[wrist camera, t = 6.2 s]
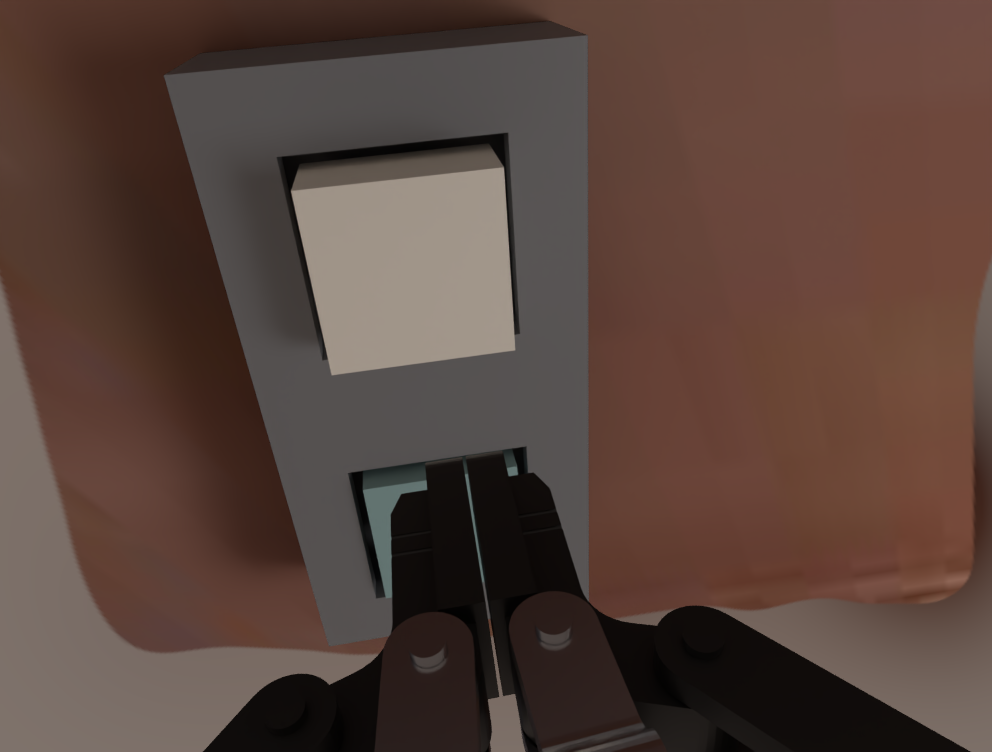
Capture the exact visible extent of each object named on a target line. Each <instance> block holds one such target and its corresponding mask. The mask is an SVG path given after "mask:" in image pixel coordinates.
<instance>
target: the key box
mask: <svg viewBox="0 0 992 752" xmlns="http://www.w3.org/2000/svg"><path fill="white" fill-rule="evenodd" d="M164 78H165V81H166V85H167V88H168V92H169V95H170V99H171V102H172V106H173V109H174V113H175V116H176V119H177V123H178V126H179V130H180V133H181V137H182V140H183V144H184V147H185V151H186V154H187V157H188V161H189V164H190V168H191V171H192V175H193V178H194V182H195V185H196V189H197V192H198V195H199V199H200V202H201V206H202V209H203V213H204V216H205V220H206V223H207V227H208V230H209V233H210V237H211V240H212V244H213V247H214V251H215V254H216V258H217V261H218V265H219V268H220V271H221V275H222V278H223V282H224V285H225V289H226V292H227V296H228V299H229V303H230V306H231V309H232V313H233V316H234V320H235V323H236V327H237V330H238V334H239V337H240V341H241V344H242V347H243V351H244V354H245V358H246V361H247V365H248V368H249V372H250V375H251V379H252V382H253V385H254V389H255V392H256V396H257V399H258V403H259V406H260V410H261V413H262V417H263V420H264V423H265V427H266V430H267V434H268V437H269V441H270V444H271V448H272V451H273V455H274V458H275V461H276V465H277V468H278V472H279V475H280V479H281V482H282V486H283V489H284V493H285V496H286V499H287V503H288V506H289V510H290V513H291V517H292V520H293V524H294V527H295V531H296V534H297V537H298V541H299V544H300V548H301V551H302V555H303V558H304V562H305V565H306V568H307V572H308V575H309V579H310V582H311V586H312V589H313V593H314V596H315V600H316V603H317V606H318V610H319V613H320V617H321V620H322V624H323V627H324V631H325V634H326V638H327V641H328V644H329V646H334V645H340V644H346V643H352V642H357V641H363V640H369V639H375V638H381V637H386V636H390V634H391V630H392V597H391V598H386V596H385V591H384V586H383V582H382V577H381V572H380V568H379V563H378V558H377V554H376V549H375V544H374V540H373V535H372V530H371V526H370V521H369V516H368V512H367V507H366V502H365V498H364V493H363V471H364V470H371V469H377V468H384V467H391V466H398V465H404V464H411V463H418V462H424V461H431V460H438V459H444V458H451V457H458V456H465V455H471V454H478V453H485V452H491V451H498V450H505V449H511V448H512V450H513V454H514V457H515V461H516V464H517V472H518V475H520V474H526V473H532V472H534V473H535V474H536V475H537V476H538V477H539V478H540V479H541V480H542V481H543V482H544V483H545V484H546V485H547V486H548V487H549V488H550V490H551V493H552V496H553V500H554V503H555V506H556V510H557V512H558V516H559V519H560V522H561V526H562V529H563V532H564V535H565V538H566V541H567V544H568V547H569V551H570V554H571V557H572V560H573V563H574V567H575V570H576V573H577V576H578V579H579V583H580V586H581V589H582V591H583V594H584V596H585V597H586V599H587V600H588V601H589V499H588V35H586V34H583V33H580V32H578V31H575V30H572V29H570V28H567V27H565V26H562V25H559V24H557V23H554V22H551V21H547V22H536V23H525V24H514V25H503V26H492V27H481V28H470V29H460V30H449V31H438V32H427V33H416V34H405V35H394V36H383V37H372V38H362V39H351V40H340V41H329V42H318V43H307V44H296V45H285V46H275V47H264V48H253V49H242V50H231V51H220V52H209V53H200V54H198V55H196V56H195V57H193V58H191V59H190V60H188V61H186V62H185V63H183V64H181V65H180V66H178V67H177V68H175V69H173V70H172V71H170V72H168V73H167V74H165V75H164ZM488 143H489V145H490V146H491V148H492V149H493V151H494V152H495V154H496V156H497V157H498V159H499V160H500V162H501V164H502V165H503V167H504V177H505V193H506V209H507V225H508V241H509V257H510V273H511V289H512V305H513V321H514V337H515V350H514V351H507V352H499V353H492V354H485V355H477V356H470V357H463V358H455V359H448V360H441V361H433V362H426V363H419V364H411V365H404V366H397V367H389V368H382V369H374V370H367V371H360V372H352V373H345V374H338V375H331V370H330V366H329V361H328V357H327V352H326V347H325V343H324V338H323V334H322V329H321V325H320V320H319V316H318V311H317V307H316V302H315V298H314V293H313V288H312V284H311V279H310V275H309V270H308V266H307V261H306V257H305V252H304V248H303V243H302V239H301V234H300V230H299V225H298V220H297V216H296V211H295V207H294V202H293V198H292V193H291V189H292V186H293V183H294V180H295V177H296V174H297V171H298V168H299V165H300V164H302V163H312V162H321V161H330V160H339V159H349V158H358V157H367V156H377V155H386V154H395V153H404V152H414V151H423V150H432V149H442V148H451V147H460V146H470V145H479V144H488ZM482 583H483V590H484V596H485V602H486V609H487V616H488V619H490V613H489V607H488V601H487V595H486V589H485V583H484V582H482Z"/></svg>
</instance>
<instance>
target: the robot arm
mask: <svg viewBox="0 0 992 752" xmlns="http://www.w3.org/2000/svg"><path fill="white" fill-rule="evenodd" d="M465 457H466V465H467V472H468V478H469V485H470V492H471V499H472V506H473V513H474V520H475V527H476V533H477V540H478V546H479V552H480V558H481V564H482V570H483V576H484V583H485V589H486V595H487V601H488V607H489V613H490V619H491V625H492V631H493V637H494V643H495V649H496V656H497V662H498V668H499V674H500V680H501V686H502V692H503V696H505V695H511V694H515V695H516V700H517V706H518V711H519V717H520V724H521V733H522V739H523V744H524V748H525V752H970V751H968V750H967V749H965V748H963V747H961V746H959V745H957V744H956V743H954V742H952V741H951V740H949V739H947V738H945V737H944V736H941V735H940V734H938V733H936V732H935V731H933V730H931V729H929V728H927V727H926V726H924V725H922V724H921V723H919V722H917V721H915V720H913V719H912V718H910V717H908V716H906V715H904V714H903V713H901V712H899V711H897V710H896V709H894V708H892V707H890V706H888V705H887V704H885V703H883V702H881V701H880V700H878V699H876V698H874V697H873V696H871V695H869V694H867V693H866V692H864V691H862V690H860V689H859V688H856V687H855V686H853V685H851V684H850V683H848V682H846V681H844V680H843V679H841V678H839V677H837V676H836V675H834V674H832V673H830V672H828V671H827V670H825V669H823V668H821V667H819V666H818V665H816V664H814V663H812V662H811V661H809V660H807V659H805V658H804V657H802V656H800V655H798V654H797V653H795V652H793V651H791V650H789V649H788V648H786V647H784V646H782V645H781V644H779V643H777V642H775V641H774V640H772V639H770V638H768V637H766V636H765V635H763V634H761V633H759V632H757V631H756V630H754V629H752V628H750V627H749V626H747V625H745V624H743V623H742V622H740V621H738V620H736V619H735V618H733V617H731V616H729V615H727V614H726V613H723V612H721V611H719V610H716V609H714V608H710V607H705V606H685V607H681V608H678V609H675V610H673V611H671V612H670V613H668V614H667V615H666V616H664V617H663V618H662V619H661V621H660V622H659V624H658V626H653V625H644V624H635V623H628V622H622V621H619V620H615V619H613V618H610V617H608V616H606V615H604V614H603V613H601V612H599V611H598V610H597V609H596V608H594V607H593V606H592V605H591V604H590V603H589V601H588V600H587V599H586V597H585V596H584V594H583V591H582V589H581V586H580V583H579V579H578V576H577V573H576V570H575V567H574V563H573V560H572V557H571V554H570V551H569V547H568V544H567V541H566V538H565V535H564V532H563V529H562V526H561V522H560V519H559V516H558V512H557V510H556V506H555V503H554V500H553V496H552V493H551V490H550V488H549V487H548V486H547V485H546V484H545V483H544V482H543V481H542V480H541V479H540V478H539V477H538V476H537V475H536V474H535V473H534V472H532V473H526V474H520V475H514V476H509V475H508V471H507V467H506V463H505V459H504V454H503V451H495V452H489V453H483V454H476V455H470V456H465ZM425 470H426V481H427V490H422V491H416V492H410V493H404V494H401V495H400V497H399V499H398V501H397V503H396V505H395V507H394V509H393V511H392V513H391V555H392V558H391V568H392V630H391V634H390V636H389V637H388V639H387V641H386V643H385V646H384V648H383V650H382V651H381V652H380V654H379V655H378V656H377V657H376V658H375V659H374V660H373V661H372V662H371V663H369V664H368V665H366V666H365V667H364V668H362V669H360V670H359V671H357V672H355V673H353V674H351V675H349V676H347V677H345V678H343V679H341V680H339V681H337V682H335V683H333V684H330V685H329V684H328V683H327V682H325V681H324V680H322V679H321V678H319V677H317V676H314V675H309V674H294V675H289V676H285V677H282V678H280V679H277V680H275V681H273V682H271V683H270V684H268V685H266V686H265V687H264V688H262V689H261V690H260V691H259V692H258V693H257V694H256V695H255V696H253V698H252V699H251V700H250V701H249V702H248V703H247V704H246V705H245V706H244V707H243V708H242V710H241V711H240V712H239V713H238V714H237V715H236V716H235V717H234V718H233V719H232V721H231V722H230V723H229V724H228V725H227V726H226V727H225V728H224V729H223V730H222V731H221V733H220V734H219V735H218V736H217V737H216V738H215V739H214V740H213V741H212V743H211V744H210V745H209V746H208V747H207V748H206V749H205V750H204V751H203V752H491V746H490V740H491V733H492V727H491V719H490V713H489V705H488V699H491V698H496V697H499V692H498V685H497V679H496V671H495V664H494V657H493V651H492V645H491V637H490V630H489V623H488V616H487V609H486V602H485V596H484V590H483V583H482V577H481V571H480V565H479V559H478V552H477V546H476V540H475V534H474V527H473V521H472V515H471V509H470V503H469V496H468V490H467V484H466V478H465V472H464V465H463V459H462V457H459V458H452V459H446V460H440V461H433V462H427V463H425Z"/></svg>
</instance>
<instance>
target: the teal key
mask: <svg viewBox="0 0 992 752" xmlns="http://www.w3.org/2000/svg"><path fill="white" fill-rule="evenodd" d="M498 451H503V454H504V459H505V463H506V467H507V471H508V475H509V476H514V475H518V472H517V464H516V461H515V457H514V454H513V450H512V448H511V449H505V450H498ZM491 452H495V451H491ZM485 453H489V452H485ZM478 454H483V453H478ZM471 455H476V454H471ZM465 456H470V455H465ZM465 456H458V457H451V458H444V459H438V460H431V461H424V462H418V463H411V464H404V465H398V466H391V467H384V468H377V469H371V470H364V471H363V493H364V498H365V502H366V507H367V512H368V516H369V521H370V526H371V530H372V535H373V540H374V544H375V549H376V554H377V558H378V563H379V568H380V572H381V577H382V582H383V586H384V591H385V596H386V598H391V597H392V568H391V558H392V555H391V513H392V511H393V509H394V507H395V505H396V503H397V501H398V499H399V497H400V495H401V494H404V493H410V492H416V491H422V490H427V481H426V470H425V463H427V462H433V461H440V460H446V459H452V458H459V457H462V459H463V465H464V472H465V478H466V484H467V490H468V496H469V503H470V509H471V515H472V521H473V527H474V534H475V540H476V546H477V552H478V559H479V565H480V571H481V577H482V582H484V576H483V570H482V564H481V558H480V552H479V546H478V540H477V533H476V527H475V520H474V513H473V506H472V499H471V492H470V485H469V478H468V472H467V465H466V457H465Z"/></svg>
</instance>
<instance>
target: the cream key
mask: <svg viewBox="0 0 992 752" xmlns="http://www.w3.org/2000/svg"><path fill="white" fill-rule="evenodd" d="M291 193H292V198H293V202H294V207H295V211H296V216H297V220H298V225H299V230H300V234H301V239H302V243H303V248H304V252H305V257H306V261H307V266H308V270H309V275H310V279H311V284H312V288H313V293H314V298H315V302H316V307H317V311H318V316H319V320H320V325H321V329H322V334H323V338H324V343H325V347H326V352H327V357H328V361H329V366H330V370H331V375H338V374H345V373H352V372H360V371H367V370H374V369H382V368H389V367H397V366H404V365H411V364H419V363H426V362H433V361H441V360H448V359H455V358H463V357H470V356H477V355H485V354H492V353H499V352H507V351H514V350H515V337H514V321H513V305H512V289H511V273H510V257H509V241H508V225H507V209H506V193H505V177H504V167H503V165H502V164H501V162H500V160H499V159H498V157H497V156H496V154H495V152H494V151H493V149H492V148H491V146H490V145H489V143H488V144H479V145H470V146H460V147H451V148H442V149H432V150H423V151H414V152H404V153H395V154H386V155H377V156H367V157H358V158H349V159H339V160H330V161H321V162H312V163H302V164H300V165H299V168H298V171H297V174H296V177H295V180H294V183H293V186H292V189H291Z"/></svg>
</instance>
